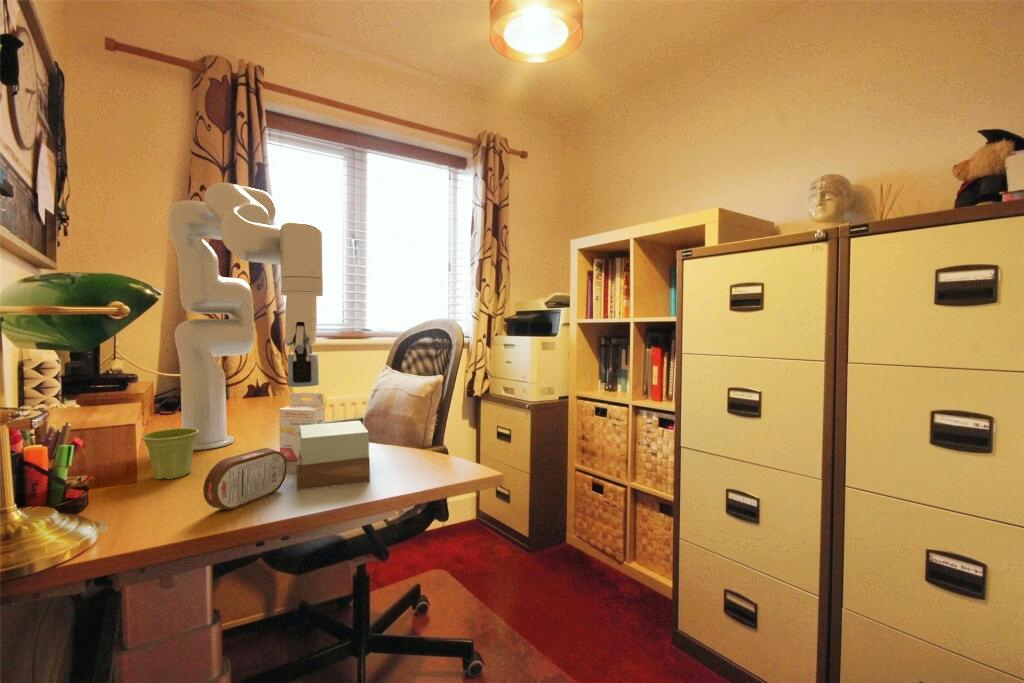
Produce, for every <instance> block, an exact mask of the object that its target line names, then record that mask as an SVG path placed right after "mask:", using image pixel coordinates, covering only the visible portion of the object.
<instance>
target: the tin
mask: <svg viewBox="0 0 1024 683" xmlns="http://www.w3.org/2000/svg"><path fill="white" fill-rule="evenodd" d="M287 461H288V460H286V458H285V456H284V455H283V454H282V453H281V452H280V450H279V451H278V450H275V449H272V448H268V447H265V448H259V449H256V450H253V451H248V452H245V453H241V454H238V455H234V456H233V455H232V456H229V457H226V458H224V459H222V460H220V461H218V462H217V463H216V464H215V465H214V466H212V468H211V469H210V471H209V472H208V474H207V475H206V476H205V480H204V484H203V490H202V491H203V492H202V493H203V498H204V500H205V502H206V504H207V505H209V506H210V507H212V508H215V509H220V510H224V511H231V510H235V509H237V508H240V506H241V507H243V506H246V505H248V504H250V503H253V502H255V501H258V500H261V499H263V498H266V497H268V496H271V495H273V494H274V493H276V492H277V491H278V490H279V489H281V487H282V485H283V483H284V482H285V479H286V477H287V469H288V463H287Z"/></svg>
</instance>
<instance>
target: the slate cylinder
mask: <svg viewBox="0 0 1024 683" xmlns="http://www.w3.org/2000/svg"><path fill="white" fill-rule="evenodd" d="M309 361H311V382H306V383H294V382H293V362H294V361H293V353H291V354H287V386H288V387H291V388H292V387H293V388H304V387H307V388H308V387H314V386H318V385H319V380H320V379H319V353H312V354H310V359H309Z"/></svg>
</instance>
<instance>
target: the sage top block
mask: <svg viewBox="0 0 1024 683" xmlns="http://www.w3.org/2000/svg"><path fill="white" fill-rule="evenodd" d="M369 433H370V432H369V431H368V429H367V428H366V427H365V425H364V424H363V422H362V421H361V420H351V421H340V422H339V421H337V422H326V423H325V422H324V424H312V425H300V451H301V458H302V465H306V464H315V463H323V462H332V461H341V460H350V459H358V458H367V457H369V458H370V438H369V436H370V435H369Z"/></svg>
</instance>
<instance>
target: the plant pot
mask: <svg viewBox="0 0 1024 683" xmlns="http://www.w3.org/2000/svg"><path fill="white" fill-rule="evenodd" d="M198 432H199V430H198V429H194V428H182V427H180V428H169V429H163V430H162V429H161V430H157V431H151V432H149V433H148V432H147V433H146V434H143V435H142V436H141V439H142V440H143V441H144V443H145V446H146V447H147V451H148V456H149V461H150V464H151V470H152V475H153V478H154V479H155V480H158V479H160V480H162V479H166V480H172V479H173V478H174V479H177V478H182V477H184V476H187V474H190V473H191V471H192V463H193V454H194V450H193V447H194V441H195V439H196V435H197V433H198ZM174 479H173V480H174Z"/></svg>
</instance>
